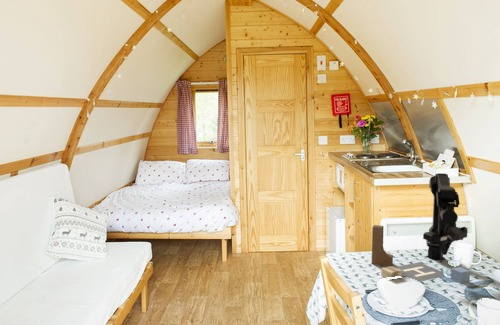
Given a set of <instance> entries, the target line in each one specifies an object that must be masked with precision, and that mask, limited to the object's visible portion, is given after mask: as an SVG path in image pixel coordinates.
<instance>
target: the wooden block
mask: <svg viewBox="0 0 500 325" xmlns="http://www.w3.org/2000/svg"><path fill="white" fill-rule="evenodd" d="M371 230H372V232H371V265H377V266H385V267H390V266H393V265H394V264H393V263H394V259H393V258H394V255H393V254H390V253H387V252H386V250H385V248H384V230H385V228H384V225H379V224H378V225H377V224H375V225H373V226H372V229H371Z"/></svg>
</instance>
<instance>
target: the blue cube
mask: <svg viewBox="0 0 500 325" xmlns="http://www.w3.org/2000/svg"><path fill="white" fill-rule="evenodd" d="M450 270H451V271H450V272H451V273H450V279H451V281H455V282H456V283H459V284H463V283H469V282H470V281H471V280H470V278H471V270H468V269H466V268H464V267H461V266H459V267H458V266H457V267H453V268H451V269H450Z"/></svg>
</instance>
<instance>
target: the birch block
mask: <svg viewBox="0 0 500 325" xmlns="http://www.w3.org/2000/svg"><path fill="white" fill-rule="evenodd" d="M396 267H397V266H393V265H392V266H385V267H381V271H380V276H381V277H382V278H385V277H395V276H401V277H402V278H403V274H402V270H400V269H398V268H396Z"/></svg>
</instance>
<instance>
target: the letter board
mask: <svg viewBox="0 0 500 325" xmlns="http://www.w3.org/2000/svg"><path fill="white" fill-rule="evenodd" d="M395 267H396V268H398V269H400V270H402V276H405V277H408V278H410V279H411V278H412V280H413V279H415V280H414V281H416V280H417V281H416V282H418V281H419V282H418V283H420V282H424V281H429V280H433V279H438V278H443V277H445V276H444V275H443V272H444V271H442V270H439V269H437V268H435V267H432V266H430V265H426V264H425V263H422V262H413V263H408V264H404V265H398V266H395Z"/></svg>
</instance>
